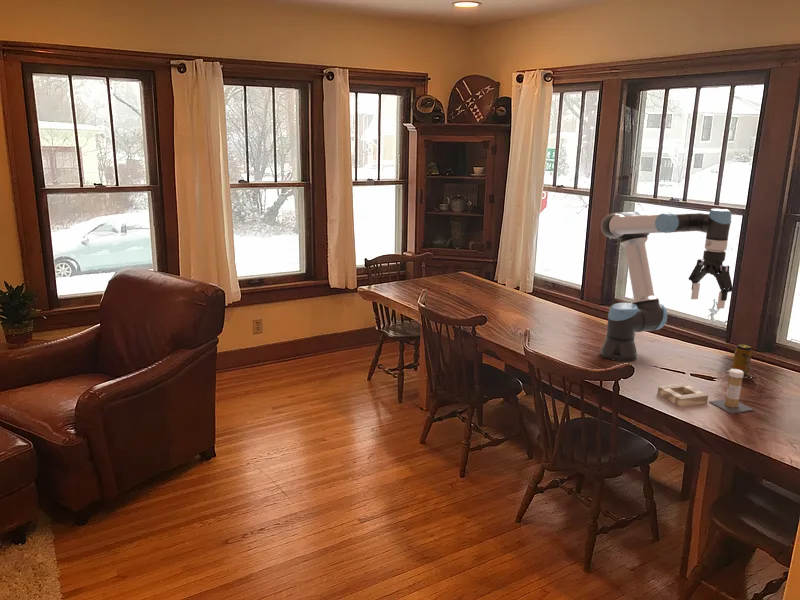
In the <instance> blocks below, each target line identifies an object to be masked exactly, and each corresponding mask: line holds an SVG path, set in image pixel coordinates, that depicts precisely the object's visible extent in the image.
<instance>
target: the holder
mask: <svg viewBox="0 0 800 600" xmlns="http://www.w3.org/2000/svg"><path fill="white" fill-rule="evenodd" d="M657 395H658V396H660V397H662V398H664V399H666V400H668V402H669V401H670V402H671V403H673V404H674V405H676V406H678V407H679V408H684V407H688V406H695V405H702V404H707V403H708V399H709V395H708V394H706V393H704V391H703V392H702V391H700V390H699V389H697V388H695V387H693V386H691V385H689V384H687V383H685V382H684V383H675V384H668V385H661V386H658V387H657Z"/></svg>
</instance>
